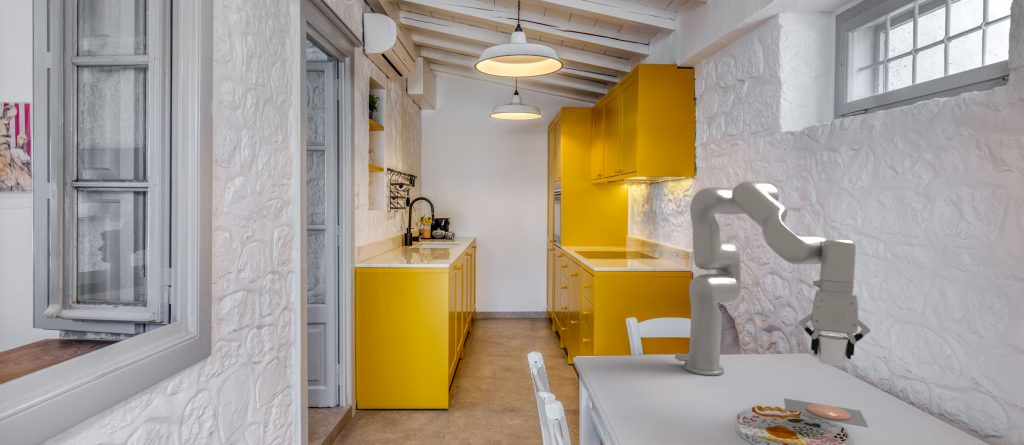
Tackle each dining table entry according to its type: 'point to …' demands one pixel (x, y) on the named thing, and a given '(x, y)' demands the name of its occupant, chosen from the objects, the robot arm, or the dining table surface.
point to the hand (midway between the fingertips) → (831, 355)
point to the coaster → (828, 412)
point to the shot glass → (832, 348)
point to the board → (802, 407)
